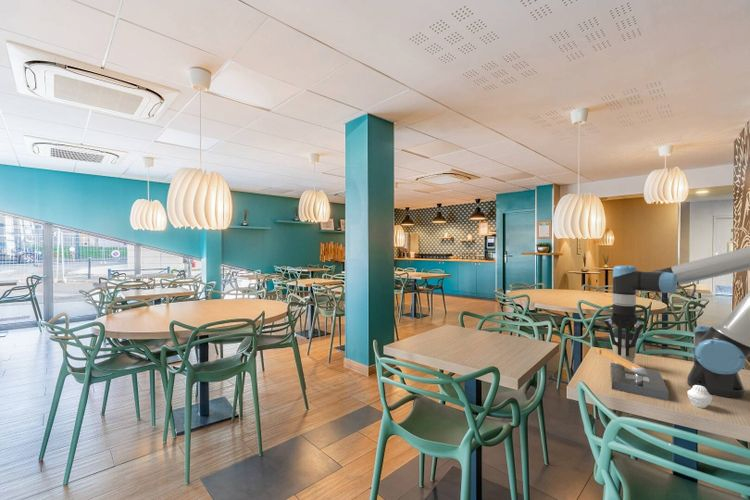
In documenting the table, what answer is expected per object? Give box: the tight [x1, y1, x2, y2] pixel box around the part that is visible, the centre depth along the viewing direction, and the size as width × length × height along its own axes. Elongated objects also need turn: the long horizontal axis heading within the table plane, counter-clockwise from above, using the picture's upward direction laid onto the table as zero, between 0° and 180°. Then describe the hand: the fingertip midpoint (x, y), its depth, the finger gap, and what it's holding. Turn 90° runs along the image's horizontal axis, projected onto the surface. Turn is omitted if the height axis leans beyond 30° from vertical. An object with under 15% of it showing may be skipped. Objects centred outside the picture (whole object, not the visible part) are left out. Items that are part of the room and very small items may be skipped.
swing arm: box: [596, 348, 647, 374], centre depth 133 cm, size 4×24×2 cm, turn 177°
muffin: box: [686, 385, 713, 409], centre depth 113 cm, size 6×6×7 cm
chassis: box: [610, 362, 670, 401], centre depth 131 cm, size 16×24×7 cm, turn 146°
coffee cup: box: [612, 330, 637, 364], centre depth 152 cm, size 9×9×15 cm
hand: (623, 363), depth 135 cm, fingers closed
